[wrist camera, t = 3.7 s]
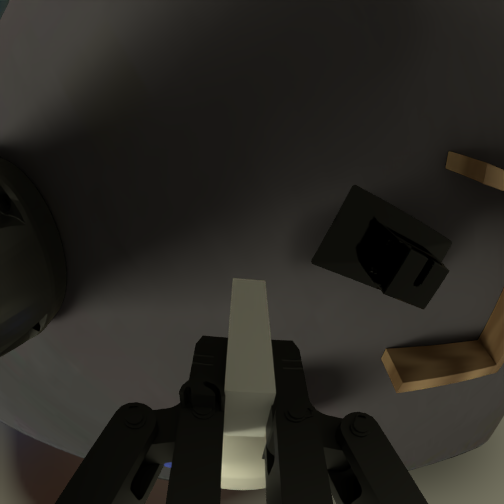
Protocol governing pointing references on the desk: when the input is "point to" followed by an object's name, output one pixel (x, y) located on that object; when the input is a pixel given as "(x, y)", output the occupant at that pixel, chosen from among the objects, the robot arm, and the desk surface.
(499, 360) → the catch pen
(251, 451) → the cream cylinder
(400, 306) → the desk surface
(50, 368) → the desk surface
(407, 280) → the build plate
